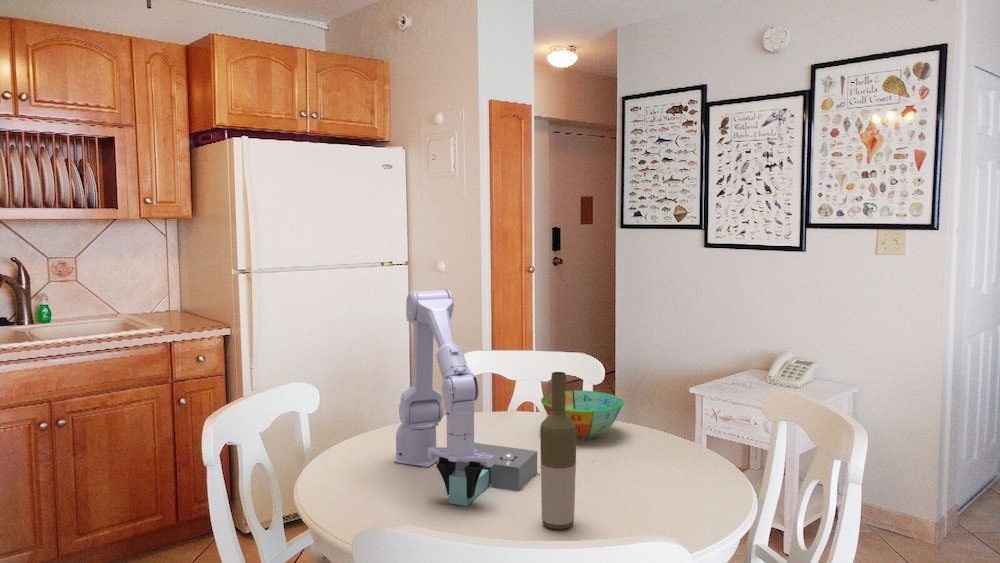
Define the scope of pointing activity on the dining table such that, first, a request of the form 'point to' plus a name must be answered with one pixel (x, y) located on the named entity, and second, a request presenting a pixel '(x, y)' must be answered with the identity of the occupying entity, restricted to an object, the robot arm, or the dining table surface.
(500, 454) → the housing
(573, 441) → the bottle
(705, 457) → the dining table surface
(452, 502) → the cartridge
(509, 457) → the plunger right
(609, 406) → the bowl
